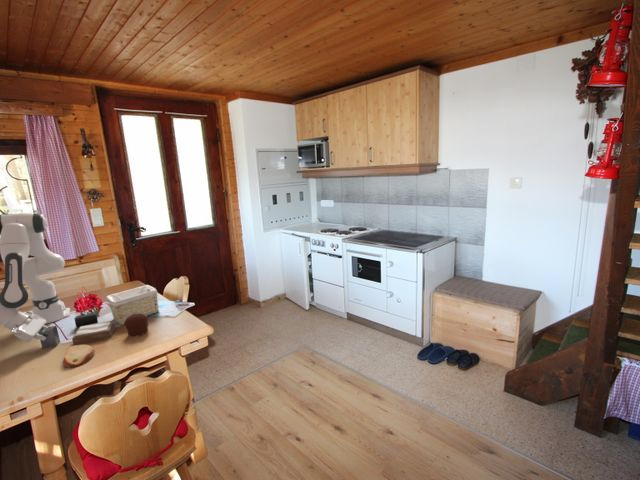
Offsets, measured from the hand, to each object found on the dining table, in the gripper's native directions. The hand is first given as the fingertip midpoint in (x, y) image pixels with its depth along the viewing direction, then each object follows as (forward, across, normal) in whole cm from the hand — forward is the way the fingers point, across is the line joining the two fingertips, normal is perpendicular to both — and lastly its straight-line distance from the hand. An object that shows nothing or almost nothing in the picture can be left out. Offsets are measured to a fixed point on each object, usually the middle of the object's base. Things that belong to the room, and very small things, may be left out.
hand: (48, 335), depth 168 cm
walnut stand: (+18, 0, -10) cm, 20 cm away
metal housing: (+4, 0, +4) cm, 5 cm away
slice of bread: (+15, -21, -7) cm, 27 cm away
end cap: (+13, +18, -5) cm, 23 cm away
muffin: (+32, -8, -24) cm, 41 cm away
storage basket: (+30, +19, -22) cm, 42 cm away
